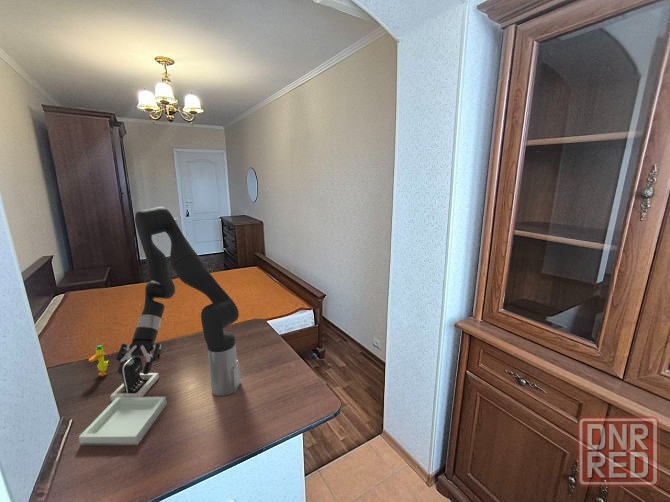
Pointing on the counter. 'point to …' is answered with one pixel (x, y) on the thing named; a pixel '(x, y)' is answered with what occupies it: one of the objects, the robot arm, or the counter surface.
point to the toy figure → (100, 360)
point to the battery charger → (132, 374)
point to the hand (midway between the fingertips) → (133, 374)
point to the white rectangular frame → (151, 380)
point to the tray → (123, 421)
